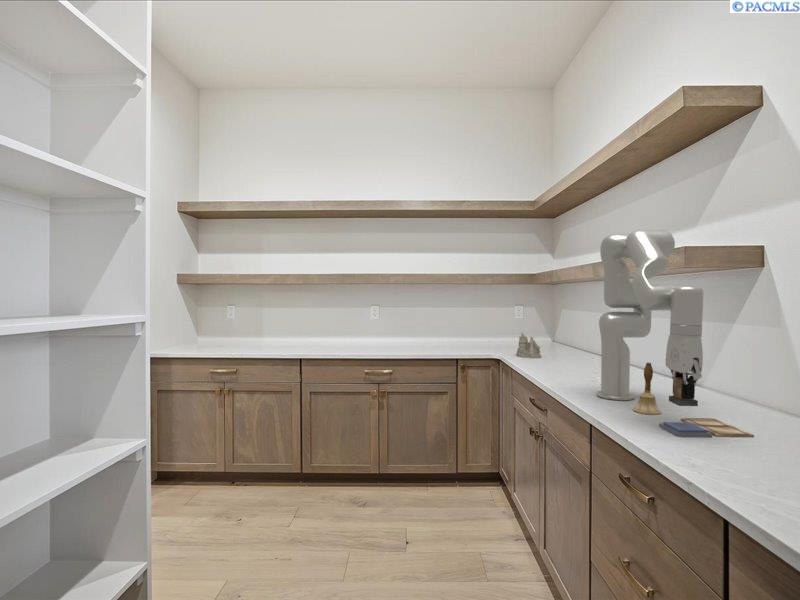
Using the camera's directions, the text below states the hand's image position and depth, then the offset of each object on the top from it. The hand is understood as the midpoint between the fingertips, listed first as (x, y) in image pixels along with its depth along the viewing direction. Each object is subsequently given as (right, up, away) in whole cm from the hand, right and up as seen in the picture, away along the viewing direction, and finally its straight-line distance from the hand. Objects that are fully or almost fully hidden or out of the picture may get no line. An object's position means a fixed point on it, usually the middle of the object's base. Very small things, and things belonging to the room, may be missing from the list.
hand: (683, 395), depth 128 cm
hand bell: (+1, -10, +21) cm, 23 cm away
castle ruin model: (+1, -8, +153) cm, 153 cm away
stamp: (0, -2, 0) cm, 2 cm away
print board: (+11, -10, +3) cm, 15 cm away
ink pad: (0, -10, -1) cm, 10 cm away
